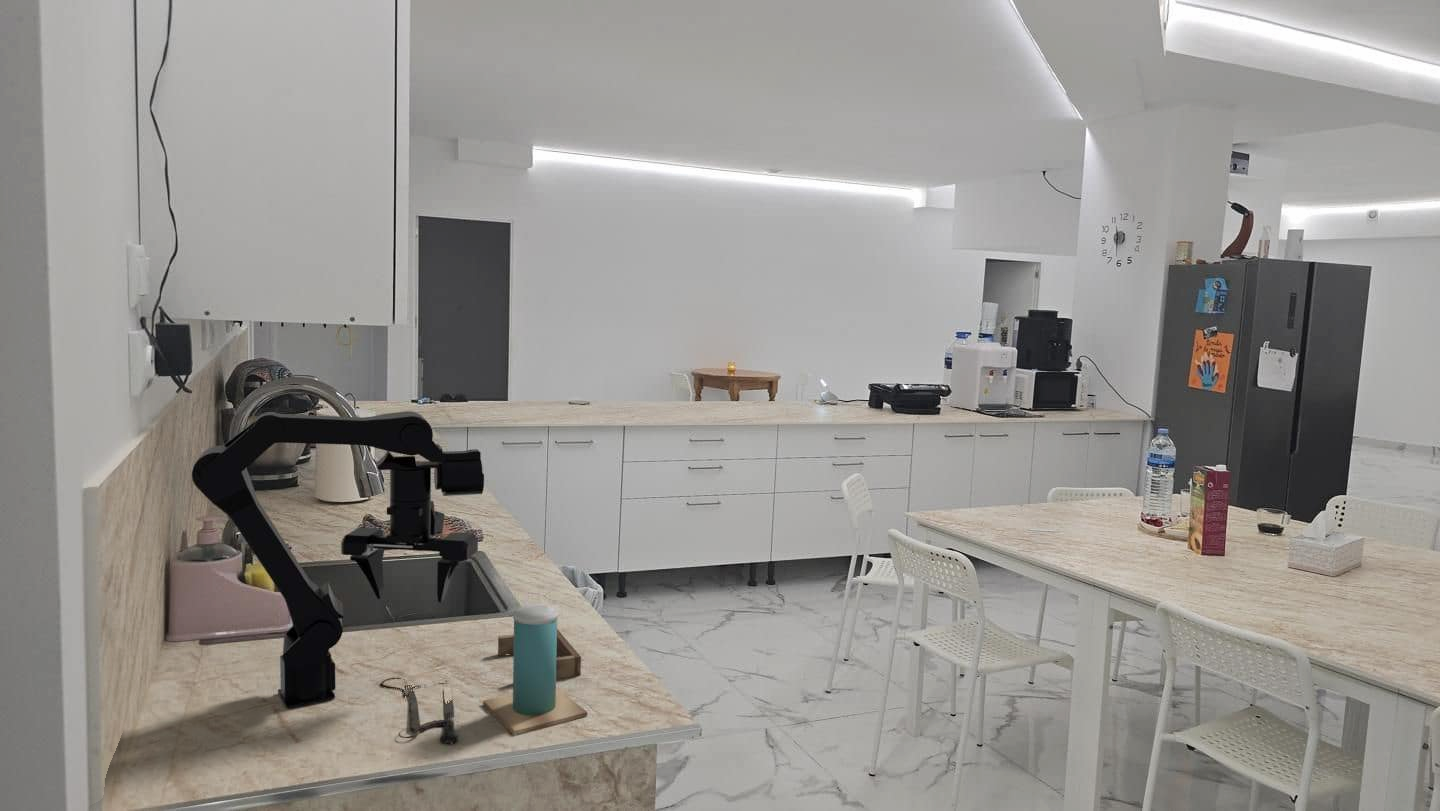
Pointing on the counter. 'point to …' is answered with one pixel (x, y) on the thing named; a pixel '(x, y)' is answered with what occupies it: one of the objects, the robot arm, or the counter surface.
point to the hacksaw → (415, 721)
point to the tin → (534, 659)
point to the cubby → (565, 663)
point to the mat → (526, 723)
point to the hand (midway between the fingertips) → (410, 600)
